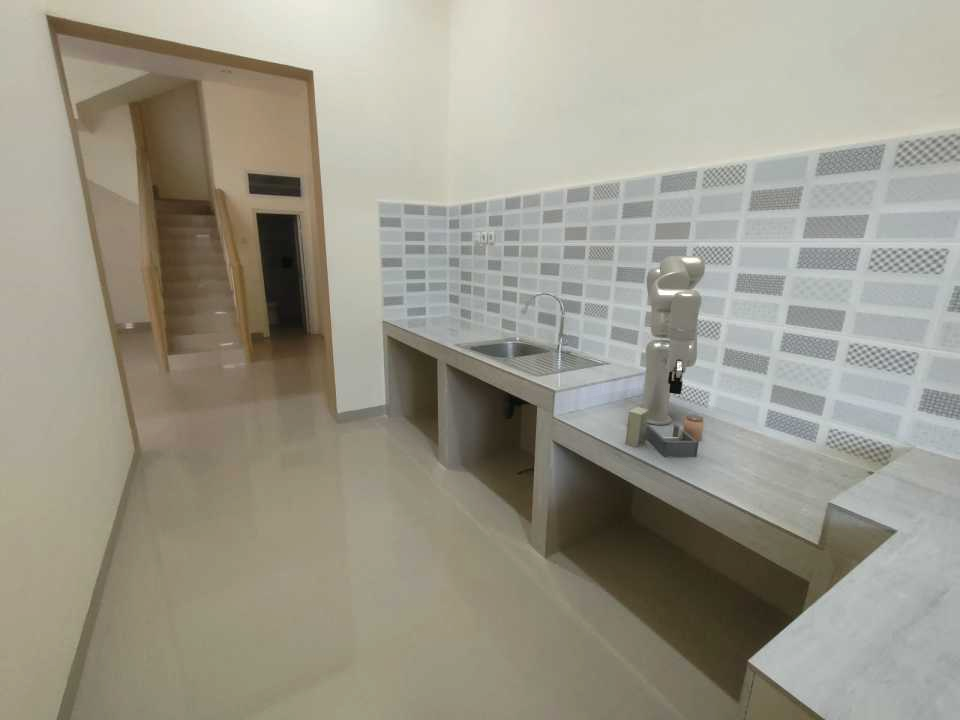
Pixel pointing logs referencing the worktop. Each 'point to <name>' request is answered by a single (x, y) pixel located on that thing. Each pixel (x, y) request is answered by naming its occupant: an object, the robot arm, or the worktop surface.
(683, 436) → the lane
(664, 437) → the bar
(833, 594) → the worktop surface
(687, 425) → the jar
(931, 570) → the worktop surface
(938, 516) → the worktop surface
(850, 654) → the worktop surface
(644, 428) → the skincare box
